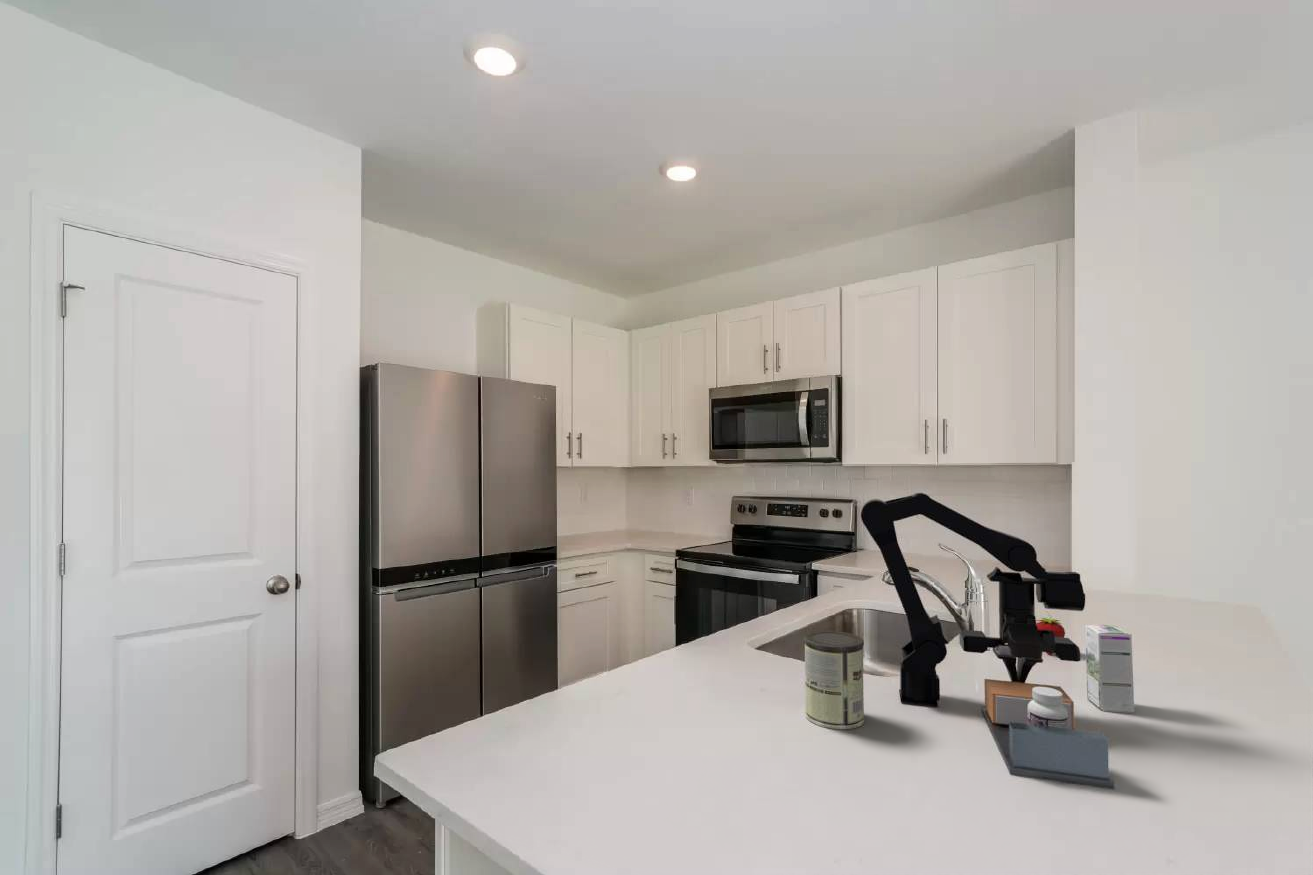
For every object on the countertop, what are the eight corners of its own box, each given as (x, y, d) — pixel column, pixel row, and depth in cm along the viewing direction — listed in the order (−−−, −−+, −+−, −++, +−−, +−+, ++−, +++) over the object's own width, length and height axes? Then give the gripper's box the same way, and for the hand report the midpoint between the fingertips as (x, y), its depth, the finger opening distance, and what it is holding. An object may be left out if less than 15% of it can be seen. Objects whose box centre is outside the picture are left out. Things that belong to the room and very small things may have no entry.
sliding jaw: (984, 706, 116) (984, 678, 116) (1060, 715, 112) (1060, 686, 112) (993, 724, 108) (993, 694, 108) (1075, 733, 104) (1074, 702, 104)
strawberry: (1025, 651, 153) (1025, 609, 154) (1051, 649, 155) (1050, 608, 155) (1046, 659, 148) (1045, 615, 148) (1072, 656, 149) (1071, 613, 150)
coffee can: (810, 702, 120) (810, 627, 121) (867, 712, 116) (867, 634, 117) (798, 723, 111) (798, 641, 112) (860, 734, 107) (859, 649, 107)
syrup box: (1135, 713, 116) (1134, 633, 116) (1099, 711, 117) (1098, 631, 118) (1119, 702, 122) (1118, 625, 122) (1085, 699, 123) (1084, 623, 123)
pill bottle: (1019, 747, 100) (1019, 684, 100) (1051, 745, 100) (1050, 684, 101) (1043, 763, 95) (1042, 697, 95) (1077, 762, 95) (1076, 696, 95)
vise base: (981, 712, 116) (980, 676, 116) (1063, 721, 112) (1062, 684, 112) (1010, 774, 93) (1009, 729, 94) (1114, 789, 89) (1113, 742, 90)
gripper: (968, 612, 112) (969, 701, 112) (1090, 621, 107) (1092, 715, 106) (958, 599, 123) (959, 680, 123) (1069, 606, 117) (1070, 692, 117)
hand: (1017, 692), depth 117 cm, fingers closed
